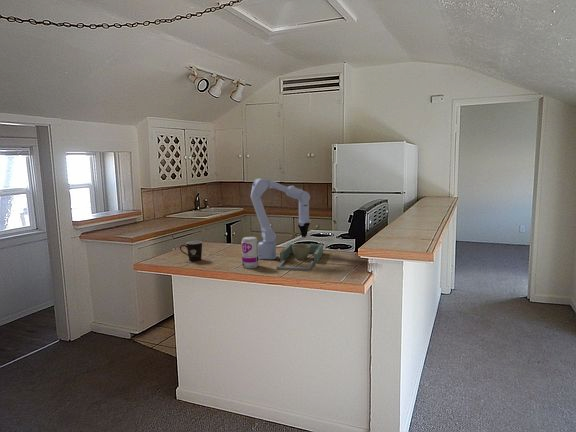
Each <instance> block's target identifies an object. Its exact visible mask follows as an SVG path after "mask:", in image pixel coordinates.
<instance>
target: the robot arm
mask: <svg viewBox="0 0 576 432" xmlns="http://www.w3.org/2000/svg"><path fill="white" fill-rule="evenodd" d="M270 189H274V190H278V191H281V192H284V193H285V195H286V196H288V197H289V198H293V199H296V200H298V223H299V224H298V225H297V227H298V228H299V230H300V231H299V232H300V235H301V237H302V238H306V237H307V236H308V232H309V227H310V225H311V223H310V222H312V220H311V219H310V203H309V202H310V200H311V195H310V193H309V192H308V191H304V190H303V188H298V187H296V186H295V185H289V186H286V185H283V184H281V183H278V182H276V181H273V180H269V179H264V178H261V177H259V178H255V179H254V181H253V183H252V186H251V191H250V192H251V193H250V200H251V202H252V206H253V208H254V211H255V214H256V216H257V220H258V221H259V225H260V230H261V238H262V241H258V260H275V259H277V257H278V258H279V255H278V254H277V249H276V248H277V247H276V246H277V245H276V240H277V234H276V233H275V231H274V230H273V228H272V226H271V224H270V221H269V219H268V218H269V217H267V213H266V210H265V207H264V204H263V202H262V198H261V197H262V195H263V194H264V192H265V191H267V190H270Z"/></svg>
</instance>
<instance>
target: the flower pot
mask: <svg viewBox="0 0 576 432" xmlns="http://www.w3.org/2000/svg"><path fill="white" fill-rule="evenodd" d="M296 244H297V245H293V246H292V249H293V253H292V254H294V257H295V259H296V260H299V261H304V260H307V259H308V256H309V254H310V253H309V251H310V245H306V243H305V244H304V243H296Z"/></svg>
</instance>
